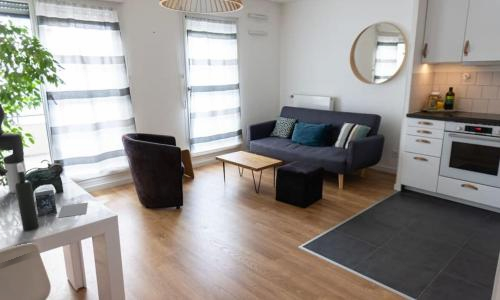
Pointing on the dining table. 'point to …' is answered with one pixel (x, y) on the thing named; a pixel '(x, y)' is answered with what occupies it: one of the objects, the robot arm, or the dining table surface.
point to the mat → (73, 210)
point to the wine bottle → (26, 201)
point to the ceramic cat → (46, 176)
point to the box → (45, 202)
